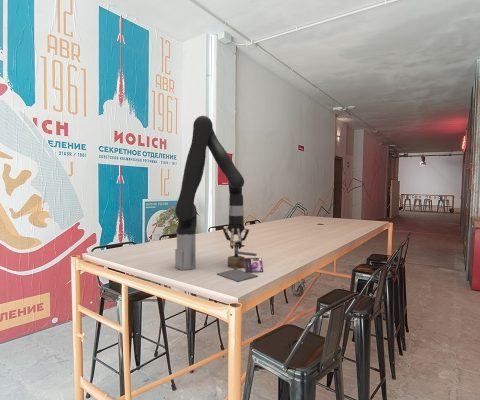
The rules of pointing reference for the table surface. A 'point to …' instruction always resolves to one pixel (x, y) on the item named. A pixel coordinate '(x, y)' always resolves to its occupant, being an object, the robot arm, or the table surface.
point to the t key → (240, 252)
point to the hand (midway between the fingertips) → (236, 248)
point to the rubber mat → (237, 275)
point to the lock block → (236, 262)
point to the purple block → (254, 265)
